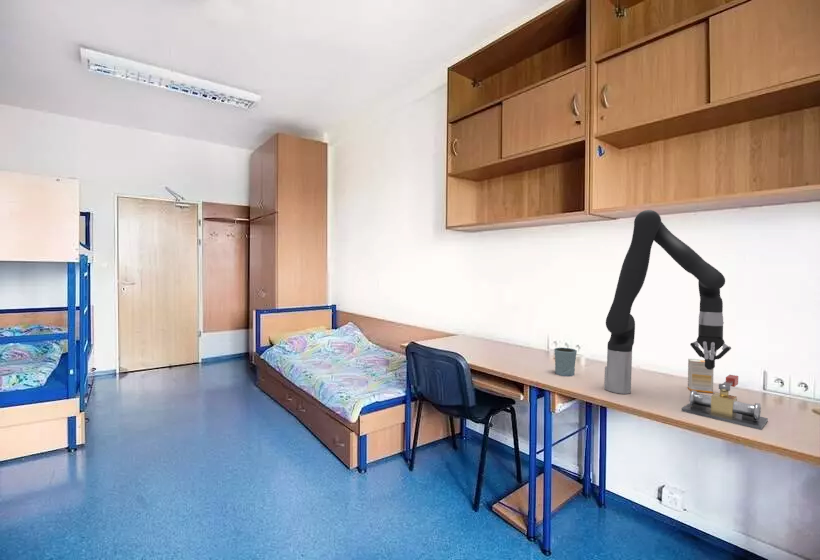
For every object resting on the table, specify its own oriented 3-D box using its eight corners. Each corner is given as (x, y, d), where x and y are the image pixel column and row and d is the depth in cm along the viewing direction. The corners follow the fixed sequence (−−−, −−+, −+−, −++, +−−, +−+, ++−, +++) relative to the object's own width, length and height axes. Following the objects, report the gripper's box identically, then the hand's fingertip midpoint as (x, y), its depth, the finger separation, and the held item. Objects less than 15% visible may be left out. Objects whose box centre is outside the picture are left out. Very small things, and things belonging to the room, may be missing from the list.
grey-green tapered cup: (572, 372, 202) (573, 347, 202) (578, 377, 192) (579, 352, 192) (551, 371, 203) (552, 347, 203) (556, 376, 193) (557, 351, 193)
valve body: (681, 411, 147) (682, 386, 147) (691, 404, 155) (692, 380, 155) (761, 429, 131) (762, 401, 130) (767, 421, 139) (768, 394, 138)
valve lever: (728, 392, 140) (729, 383, 140) (717, 390, 143) (717, 381, 143) (739, 384, 151) (739, 376, 151) (728, 382, 153) (728, 374, 153)
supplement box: (710, 390, 174) (711, 360, 173) (713, 393, 169) (714, 362, 169) (687, 388, 177) (688, 358, 177) (689, 391, 173) (690, 360, 172)
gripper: (687, 322, 157) (686, 367, 158) (730, 326, 147) (729, 374, 148) (693, 321, 162) (692, 364, 163) (734, 324, 152) (733, 371, 153)
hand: (709, 369), depth 155 cm, fingers closed
